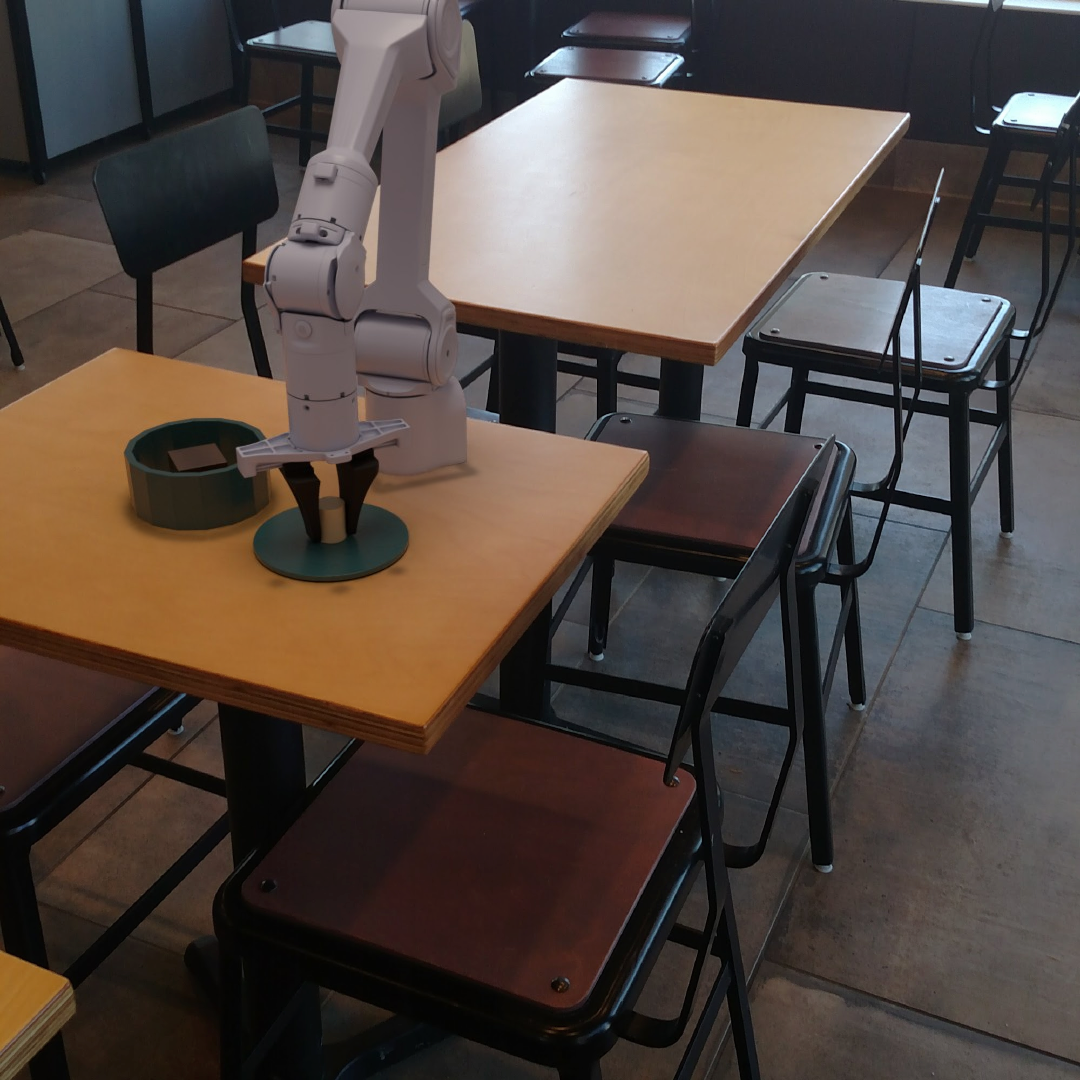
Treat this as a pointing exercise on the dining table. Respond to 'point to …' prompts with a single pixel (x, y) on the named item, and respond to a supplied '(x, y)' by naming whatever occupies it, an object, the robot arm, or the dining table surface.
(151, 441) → the container
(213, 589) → the dining table surface
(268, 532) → the cover
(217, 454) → the block
